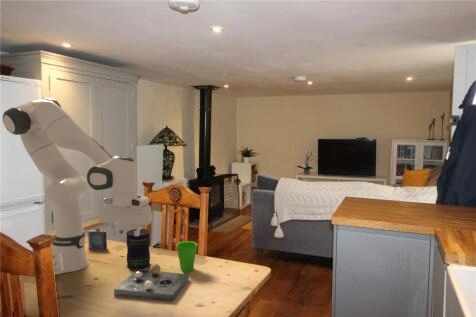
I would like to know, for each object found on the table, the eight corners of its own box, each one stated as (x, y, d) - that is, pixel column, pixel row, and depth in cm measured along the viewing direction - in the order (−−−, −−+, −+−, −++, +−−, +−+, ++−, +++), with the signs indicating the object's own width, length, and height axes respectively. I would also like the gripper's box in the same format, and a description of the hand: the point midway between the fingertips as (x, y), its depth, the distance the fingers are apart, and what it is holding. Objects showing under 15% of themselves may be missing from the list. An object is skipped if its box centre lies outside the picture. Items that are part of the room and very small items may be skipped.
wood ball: (148, 275, 143) (148, 265, 142) (152, 271, 147) (152, 261, 146) (157, 276, 142) (157, 266, 142) (161, 272, 146) (161, 262, 146)
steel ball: (132, 281, 137) (132, 272, 137) (136, 277, 141) (136, 269, 140) (140, 281, 137) (140, 273, 137) (144, 278, 140) (144, 270, 140)
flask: (87, 249, 179) (87, 227, 178) (90, 247, 182) (90, 226, 181) (105, 250, 178) (105, 228, 177) (108, 248, 181) (107, 226, 180)
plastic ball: (142, 290, 130) (142, 282, 130) (146, 286, 133) (146, 278, 133) (150, 291, 129) (150, 283, 129) (154, 287, 132) (154, 279, 132)
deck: (114, 295, 131) (114, 288, 131) (136, 275, 149) (136, 269, 148) (172, 301, 127) (172, 294, 127) (188, 280, 145) (188, 274, 145)
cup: (193, 274, 150) (193, 248, 149) (172, 272, 152) (172, 247, 151) (200, 266, 159) (200, 242, 158) (180, 264, 161) (180, 240, 160)
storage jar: (137, 259, 166) (137, 227, 164) (154, 263, 162) (154, 230, 160) (121, 267, 157) (121, 233, 155) (139, 271, 153) (139, 236, 151)
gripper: (94, 199, 136) (95, 236, 137) (146, 202, 132) (147, 239, 133) (104, 196, 142) (105, 231, 143) (153, 198, 138) (154, 234, 139)
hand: (125, 235), depth 138 cm, fingers open, 8 cm apart
